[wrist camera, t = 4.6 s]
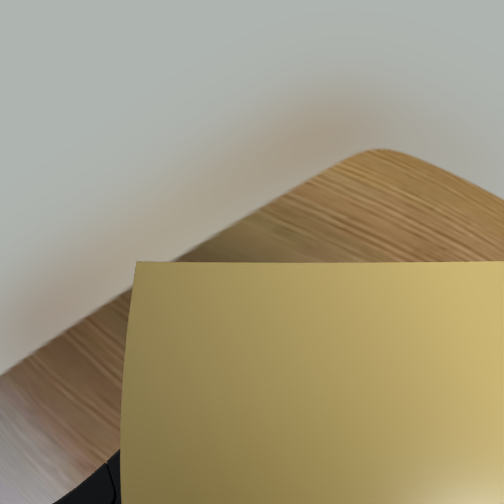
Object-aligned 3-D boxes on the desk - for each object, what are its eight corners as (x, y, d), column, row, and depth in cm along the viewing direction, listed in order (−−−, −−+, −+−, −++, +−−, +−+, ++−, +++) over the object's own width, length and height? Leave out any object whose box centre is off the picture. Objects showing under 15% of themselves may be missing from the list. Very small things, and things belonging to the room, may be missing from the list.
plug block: (341, 463, 11) (530, 591, 1) (237, 466, 12) (148, 660, 1) (342, 367, 13) (557, 260, 2) (240, 368, 14) (137, 261, 3)
